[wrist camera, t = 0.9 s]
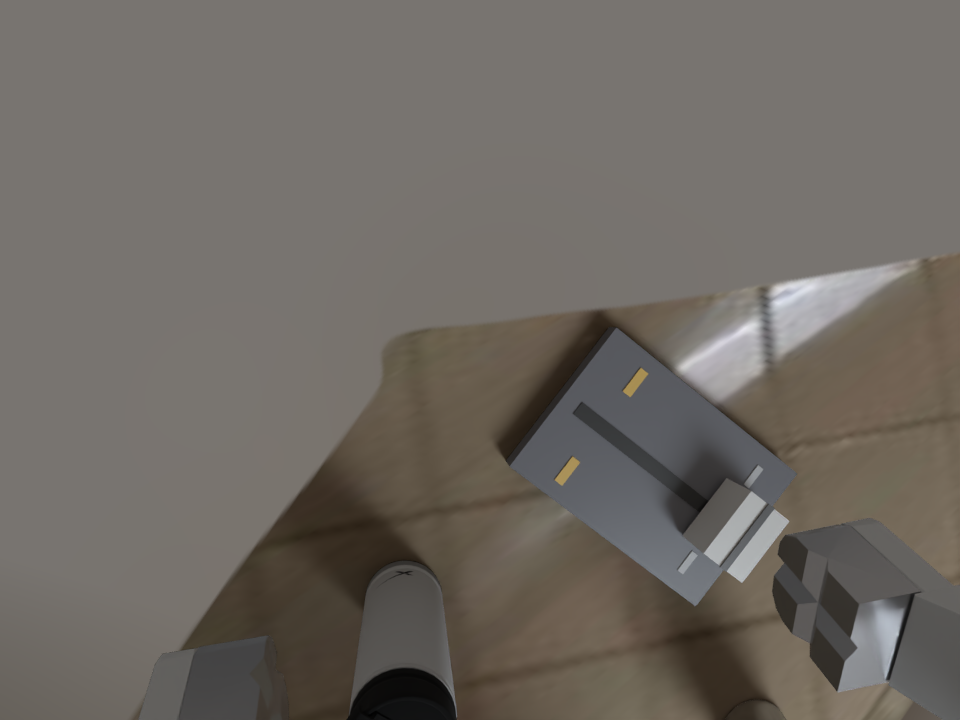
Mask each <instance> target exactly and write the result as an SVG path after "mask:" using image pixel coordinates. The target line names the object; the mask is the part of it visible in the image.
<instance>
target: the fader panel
mask: <svg viewBox="0 0 960 720" xmlns="http://www.w3.org/2000/svg"><path fill="white" fill-rule="evenodd" d="M506 462H507V463H508V465H509V466H510V467H511V468H512V469H514V470H515V471H516V472H518V473H519V474H520V475H522V476H523V477H524V478H526V479H527V480H528V481H530V482H531V483H532V484H534V485H535V486H536V487H538V488H539V489H540V490H542V491H543V492H544V493H546V494H547V495H548V496H549V497H551V498H552V499H553V500H555V501H556V502H557V503H559V504H560V505H561V506H563V507H564V508H565V509H567V510H568V511H569V512H571V513H572V514H573V515H575V516H576V517H577V518H579V519H580V520H581V521H583V522H584V523H585V524H587V525H588V526H589V527H591V528H592V529H593V530H595V531H596V532H597V533H599V534H600V535H601V536H603V537H604V538H605V539H607V540H608V541H609V542H611V543H612V544H613V545H615V546H616V547H617V548H619V549H620V550H621V551H623V552H624V553H625V554H627V555H628V556H629V557H631V558H632V559H633V560H635V561H636V562H637V563H639V564H640V565H641V566H643V567H644V568H645V569H647V570H648V571H649V572H650V573H652V574H653V575H654V576H656V577H657V578H658V579H660V580H661V581H662V582H664V583H665V584H666V585H668V586H669V587H670V588H672V589H673V590H674V591H676V592H677V593H678V594H680V595H681V596H682V597H684V598H685V599H686V600H688V601H689V602H690V603H692V604H693V605H694V606H696V605H697V604H698V603H699V601H700V600H701V599H702V597H703V596H704V595H705V594H706V592H707V591H708V590H709V588H710V587H711V586H712V584H713V583H714V582H715V580H716V579H717V578H718V577H719V575H720V574H721V573H722V571H723V569H722V568H721V567H719V565H718V564H717V563H715V562H714V561H713V560H711V559H710V558H709V557H708V556H706V555H705V554H704V553H702V552H701V551H700V550H699V549H698V548H696V547H695V546H694V545H693V544H691V543H690V542H689V541H688V540H687V539H685V538H684V537H683V536H682V535H683V534H684V533H685V532H686V530H687V529H688V528H689V526H690V525H691V524H692V522H693V521H694V520H695V519H696V517H697V516H698V515H699V513H700V512H701V511H702V509H703V508H704V507H705V505H706V504H707V503H708V502H709V500H710V499H711V498H712V496H713V495H714V494H715V492H716V491H717V490H718V489H719V487H720V486H721V485H722V483H723V482H724V481H725V479H726V478H728V479H729V480H731V481H733V482H735V483H737V484H739V485H741V486H743V487H745V488H747V489H749V490H750V491H752V492H753V493H755V494H756V495H757V496H758V497H760V498H761V499H762V500H763V501H765V502H766V503H768V504H770V505H771V506H773V505H774V503H775V502H776V501H777V500H778V498H779V497H780V496H781V494H782V493H783V492H784V490H785V489H786V488H787V486H788V485H789V484H790V483H791V481H792V480H793V479H794V477H795V476H796V475H797V473H796V472H794V471H793V470H792V469H791V468H790V467H788V466H787V465H786V464H785V463H783V462H782V461H781V460H780V459H778V458H777V457H776V456H775V455H773V454H772V453H771V452H770V451H769V450H767V449H766V448H765V447H764V446H762V445H761V444H760V443H759V442H757V441H756V440H755V439H754V438H752V437H751V436H750V435H749V434H748V433H746V432H745V431H744V430H743V429H741V428H740V427H739V426H738V425H736V424H735V423H734V422H733V421H731V420H730V419H729V418H728V417H727V416H725V415H724V414H723V413H722V412H720V411H719V410H718V409H717V408H715V407H714V406H713V405H712V404H710V403H709V402H708V401H707V400H706V399H704V398H703V397H702V396H701V395H699V394H698V393H697V392H696V391H694V390H693V389H692V388H691V387H689V386H688V385H687V384H686V383H685V382H683V381H682V380H681V379H680V378H678V377H677V376H676V375H675V374H673V373H672V372H671V371H670V370H668V369H667V368H666V367H665V366H664V365H662V364H661V363H660V362H659V361H657V360H656V359H655V358H654V357H652V356H651V355H650V354H649V353H647V352H646V351H645V350H644V349H643V348H641V347H640V346H639V345H638V344H636V343H635V342H634V341H633V340H631V339H630V338H629V337H628V336H626V335H625V334H624V333H623V332H622V331H620V330H619V329H618V328H617V327H609V328H608V329H607V330H606V331H605V333H604V334H603V335H602V337H601V338H600V339H599V341H598V342H597V343H596V344H595V346H594V347H593V348H592V350H591V351H590V352H589V354H588V355H587V356H586V357H585V359H584V360H583V361H582V363H581V364H580V365H579V367H578V368H577V369H576V370H575V372H574V373H573V374H572V376H571V377H570V378H569V380H568V381H567V382H566V383H565V385H564V386H563V387H562V389H561V390H560V391H559V392H558V394H557V395H556V396H555V398H554V399H553V400H552V402H551V403H550V404H549V405H548V407H547V408H546V409H545V411H544V412H543V413H542V415H541V416H540V417H539V418H538V420H537V421H536V422H535V424H534V425H533V426H532V428H531V429H530V430H529V431H528V433H527V434H526V435H525V437H524V438H523V439H522V441H521V442H520V443H519V444H518V446H517V447H516V448H515V450H514V451H513V452H512V453H511V455H510V456H509V457H508V459H507V460H506Z"/></svg>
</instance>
